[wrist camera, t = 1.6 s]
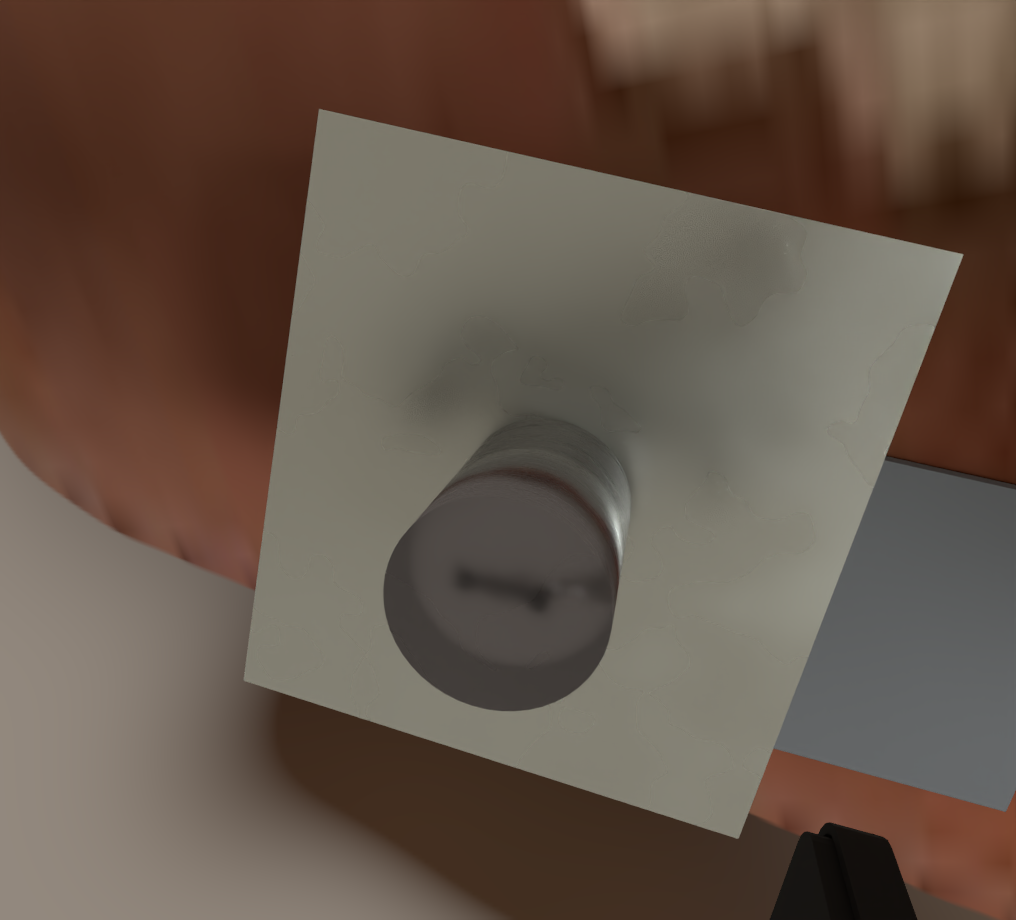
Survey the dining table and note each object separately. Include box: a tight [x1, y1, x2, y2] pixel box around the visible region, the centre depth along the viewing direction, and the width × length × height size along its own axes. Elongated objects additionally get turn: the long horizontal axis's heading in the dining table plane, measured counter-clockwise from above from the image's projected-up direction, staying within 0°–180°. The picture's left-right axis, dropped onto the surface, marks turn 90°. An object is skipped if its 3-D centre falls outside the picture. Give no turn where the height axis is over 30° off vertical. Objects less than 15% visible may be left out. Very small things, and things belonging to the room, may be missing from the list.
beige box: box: [244, 109, 963, 839], centre depth 24 cm, size 12×13×23 cm
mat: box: [774, 456, 1016, 812], centre depth 35 cm, size 14×14×1 cm
